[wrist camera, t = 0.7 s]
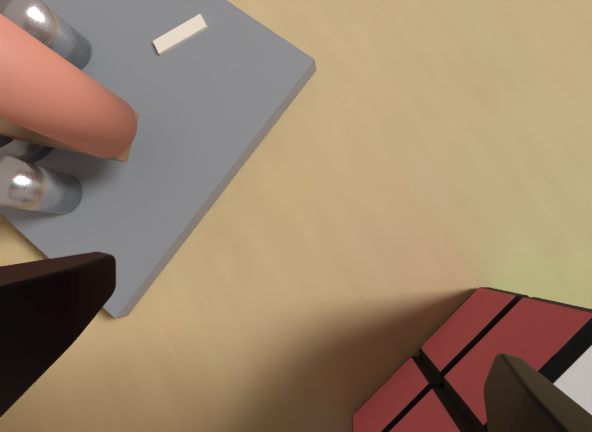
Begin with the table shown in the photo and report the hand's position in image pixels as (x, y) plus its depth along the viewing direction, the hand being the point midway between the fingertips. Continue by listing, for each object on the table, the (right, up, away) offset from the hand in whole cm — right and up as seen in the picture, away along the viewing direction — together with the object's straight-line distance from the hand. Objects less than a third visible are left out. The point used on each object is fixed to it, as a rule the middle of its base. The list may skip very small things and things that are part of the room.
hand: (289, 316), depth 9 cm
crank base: (-11, +9, +15) cm, 21 cm away
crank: (-13, +7, +12) cm, 19 cm away
